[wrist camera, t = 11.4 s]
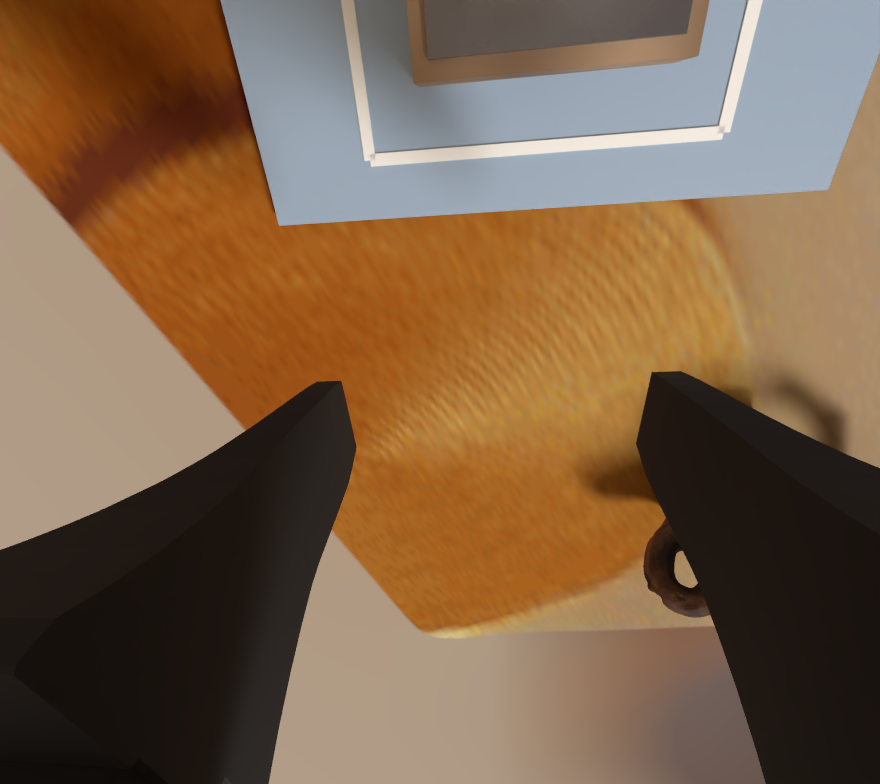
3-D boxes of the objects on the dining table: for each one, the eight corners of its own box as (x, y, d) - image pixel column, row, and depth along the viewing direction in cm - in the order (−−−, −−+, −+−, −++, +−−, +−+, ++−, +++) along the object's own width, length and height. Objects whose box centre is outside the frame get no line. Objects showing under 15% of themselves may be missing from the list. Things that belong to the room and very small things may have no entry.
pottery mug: (804, 359, 20) (1031, 510, 14) (776, 433, 27) (920, 552, 22) (585, 505, 21) (718, 688, 16) (614, 538, 29) (712, 671, 23)
